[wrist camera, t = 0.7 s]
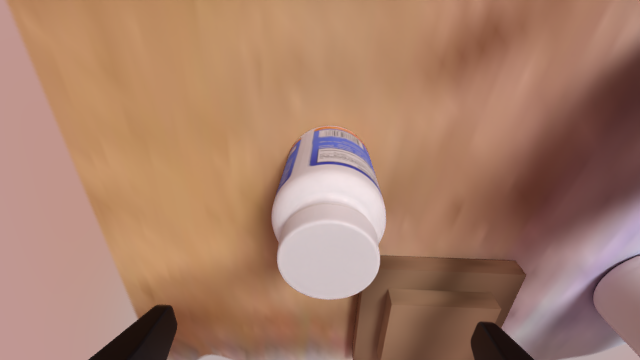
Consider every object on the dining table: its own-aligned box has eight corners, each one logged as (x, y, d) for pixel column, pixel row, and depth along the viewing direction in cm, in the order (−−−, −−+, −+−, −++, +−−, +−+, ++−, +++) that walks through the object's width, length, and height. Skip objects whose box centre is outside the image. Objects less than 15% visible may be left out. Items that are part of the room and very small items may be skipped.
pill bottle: (316, 208, 22) (307, 329, 13) (272, 149, 20) (227, 247, 11) (383, 173, 20) (423, 285, 11) (344, 106, 18) (356, 180, 9)
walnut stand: (515, 260, 23) (538, 290, 21) (474, 353, 29) (489, 386, 26) (363, 254, 23) (367, 284, 21) (352, 347, 29) (354, 380, 26)
